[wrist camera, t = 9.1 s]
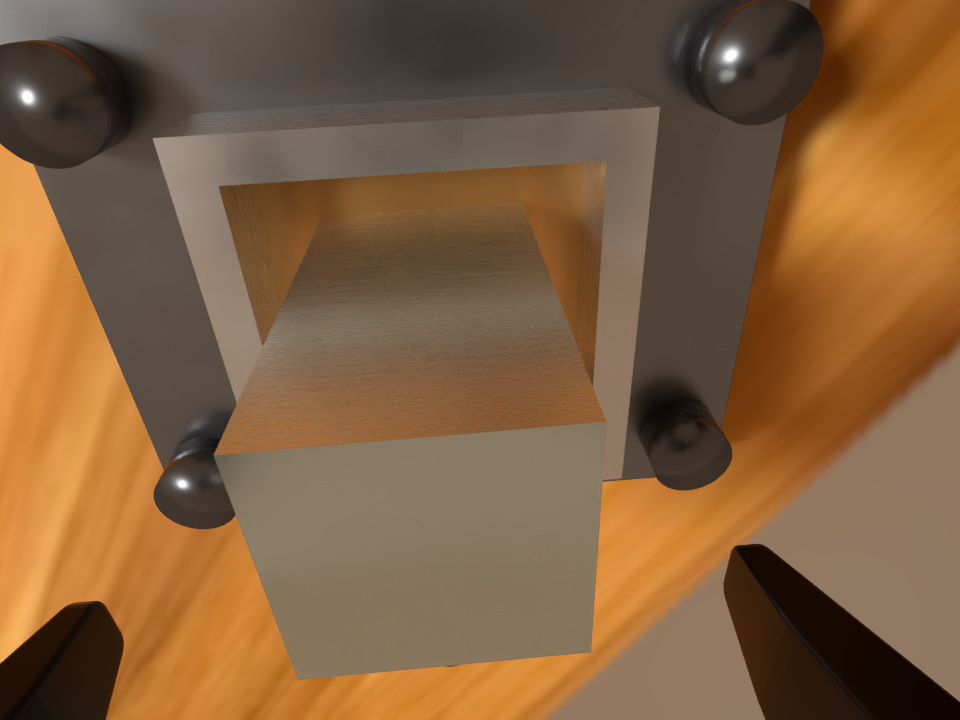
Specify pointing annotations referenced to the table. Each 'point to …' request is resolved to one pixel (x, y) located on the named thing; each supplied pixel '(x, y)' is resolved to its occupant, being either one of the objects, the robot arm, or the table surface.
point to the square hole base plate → (410, 181)
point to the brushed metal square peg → (420, 449)
